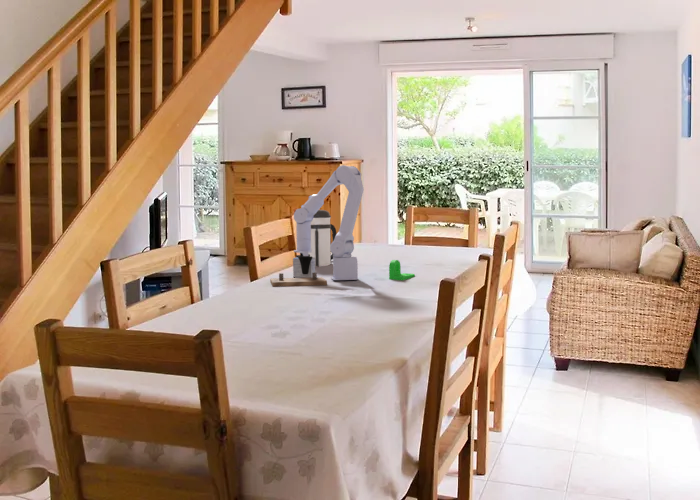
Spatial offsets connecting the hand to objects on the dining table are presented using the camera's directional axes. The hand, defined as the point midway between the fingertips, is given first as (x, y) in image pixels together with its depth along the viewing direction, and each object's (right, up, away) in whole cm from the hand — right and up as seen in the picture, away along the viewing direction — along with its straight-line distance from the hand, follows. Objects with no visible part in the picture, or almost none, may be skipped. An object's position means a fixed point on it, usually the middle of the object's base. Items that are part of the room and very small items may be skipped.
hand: (304, 273), depth 307 cm
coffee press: (+4, -1, +31) cm, 32 cm away
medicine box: (0, -3, 0) cm, 3 cm away
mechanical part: (+39, -3, -3) cm, 39 cm away
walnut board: (-1, -4, -16) cm, 17 cm away
